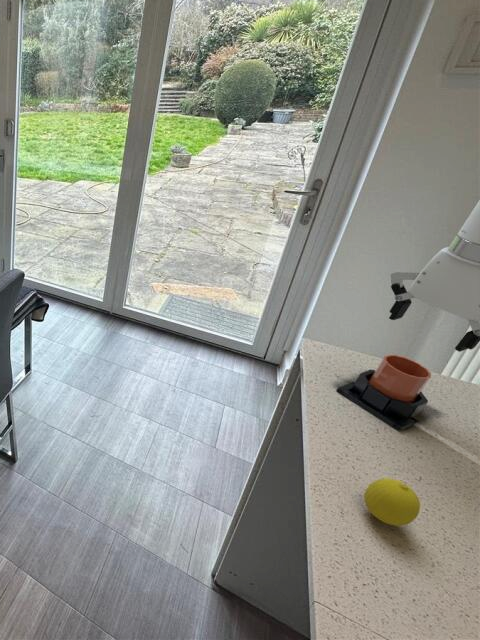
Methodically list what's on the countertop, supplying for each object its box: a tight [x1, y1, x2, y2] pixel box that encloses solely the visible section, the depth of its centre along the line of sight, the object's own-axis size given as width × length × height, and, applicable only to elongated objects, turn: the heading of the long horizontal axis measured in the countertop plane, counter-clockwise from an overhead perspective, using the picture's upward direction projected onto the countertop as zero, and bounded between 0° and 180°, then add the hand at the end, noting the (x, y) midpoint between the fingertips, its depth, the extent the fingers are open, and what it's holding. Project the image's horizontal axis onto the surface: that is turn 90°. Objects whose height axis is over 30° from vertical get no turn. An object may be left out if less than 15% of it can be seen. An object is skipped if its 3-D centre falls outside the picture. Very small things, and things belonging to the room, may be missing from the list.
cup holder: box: [335, 369, 429, 432], centre depth 83 cm, size 11×11×4 cm
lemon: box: [363, 477, 421, 527], centre depth 62 cm, size 6×6×8 cm
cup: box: [369, 354, 432, 403], centre depth 82 cm, size 7×7×10 cm
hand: (426, 332), depth 76 cm, fingers open, 9 cm apart
